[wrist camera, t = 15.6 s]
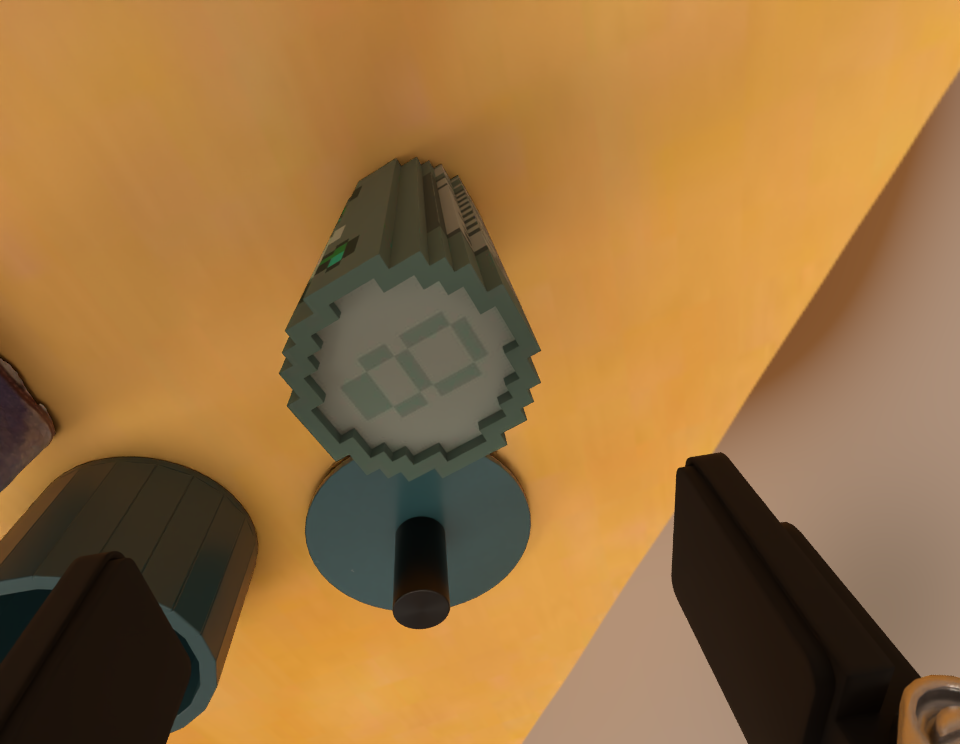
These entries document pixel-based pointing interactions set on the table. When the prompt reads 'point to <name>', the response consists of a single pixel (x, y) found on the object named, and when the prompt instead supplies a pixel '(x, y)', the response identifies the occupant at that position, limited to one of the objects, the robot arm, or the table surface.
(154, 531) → the tin
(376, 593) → the tin lid
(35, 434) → the grey carved piece
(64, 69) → the table surface
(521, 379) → the can
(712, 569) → the robot arm
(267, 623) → the table surface
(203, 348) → the table surface
